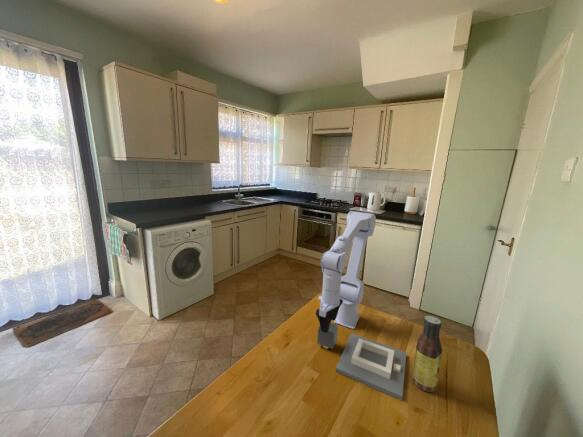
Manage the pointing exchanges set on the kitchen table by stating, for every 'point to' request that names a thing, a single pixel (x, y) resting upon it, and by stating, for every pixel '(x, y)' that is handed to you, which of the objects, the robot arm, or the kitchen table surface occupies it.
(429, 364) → the sauce bottle
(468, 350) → the kitchen table surface
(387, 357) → the socket
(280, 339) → the kitchen table surface
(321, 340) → the plug
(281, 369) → the kitchen table surface
